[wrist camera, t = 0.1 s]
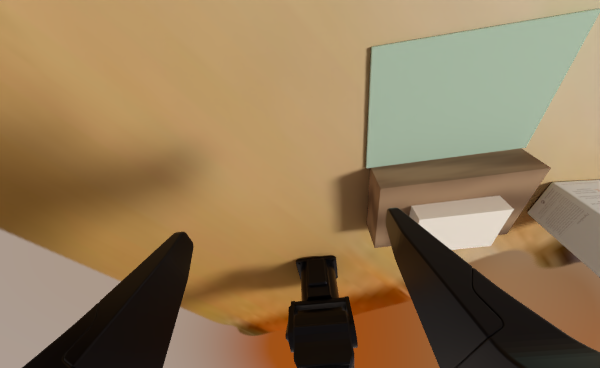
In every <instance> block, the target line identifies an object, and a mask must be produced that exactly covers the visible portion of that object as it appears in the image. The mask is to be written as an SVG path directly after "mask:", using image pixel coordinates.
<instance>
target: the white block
mask: <svg viewBox="0 0 600 368" xmlns="http://www.w3.org/2000/svg"><path fill="white" fill-rule="evenodd" d="M513 210H514V209H513V208H512V207H511V206H510V205H509V204H508V203H507V202H506V201H505V200H504V199H503V198H502V197H501V196H492V197H483V198H474V199H466V200H457V201H449V202H440V203H432V204H423V205H414V206H411V210H410V215H409V217H410V218H412V219H413V220H414V221H415V222H417V223H418V224H419V225H420V226H422V227H423V228H424V229H425V230H427V231H428V232H429V233H430V234H432V235H433V236H434V237H435V238H437V239H438V240H439V241H440V242H442V243H443V244H444V245H446V246H447V247H448V248H449V249H451V250H455V249H464V248H474V247H484V246H491V245H492V243H493V242H494V240H495V238H496V237H497V235H498V234H499V232H500V230H501V229H502V227H503V226H504V224H505V223H506V221H507V219H508V218H509V216H510V215H511V213H512V212H513Z"/></svg>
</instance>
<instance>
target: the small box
mask: <svg viewBox="0 0 600 368" xmlns="http://www.w3.org/2000/svg"><path fill="white" fill-rule="evenodd" d="M528 214H529V215H530V216H531V217H532V218H533V219H534V220H535V221H537V222H538V223H539V224H540V225H541V226H542V227H543V228H545V229H546V230H547V231H548V232H549V233H550V234H551V235H552V236H554V237H555V238H556V239H557V240H558V241H559V242H560V243H561V244H563V245H564V246H565V247H566V248H567V249H568V250H569V251H570V252H572V253H573V254H574V255H575V256H576V257H577V258H578V259H579V260H581V261H582V262H583V263H584V264H585V265H586V266H587V267H589V268H590V269H591V270H592V271H593V272H594V273H595V274H596V275H598V276H599V277H600V180H583V181H567V182H552V183H551V184H550V185H549V186H548V188H547V189H546V190H545V191H544V193H543V194H542V195H541V196H540V198H539V199H538V200H537V201H536V203H535V204H534V205H533V206H532V207H531V209H530V210H529V211H528Z"/></svg>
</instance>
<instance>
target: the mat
mask: <svg viewBox="0 0 600 368" xmlns="http://www.w3.org/2000/svg"><path fill="white" fill-rule="evenodd" d="M599 13H600V9H593V10H587V11H581V12H575V13H569V14H563V15H557V16H551V17H545V18H539V19H533V20H527V21H521V22H515V23H509V24H504V25H498V26H492V27H486V28H480V29H474V30H468V31H462V32H456V33H450V34H444V35H438V36H432V37H426V38H420V39H415V40H409V41H403V42H397V43H391V44H385V45H379V46H373V47H371V61H370V83H369V106H368V128H367V151H366V168H373V167H381V166H388V165H396V164H404V163H411V162H419V161H427V160H434V159H442V158H450V157H457V156H465V155H473V154H481V153H488V152H496V151H504V150H511V149H519V148H526V146H527V144H528V143H529V141H530V139H531V137H532V135H533V134H534V132H535V130H536V128H537V126H538V124H539V123H540V121H541V119H542V117H543V115H544V113H545V112H546V110H547V108H548V106H549V104H550V102H551V101H552V99H553V97H554V95H555V93H556V92H557V90H558V88H559V86H560V84H561V82H562V81H563V79H564V77H565V75H566V73H567V71H568V70H569V68H570V66H571V64H572V62H573V61H574V59H575V57H576V55H577V53H578V51H579V50H580V48H581V46H582V44H583V42H584V40H585V39H586V37H587V35H588V33H589V31H590V29H591V28H592V26H593V24H594V22H595V20H596V19H597V17H598V15H599Z"/></svg>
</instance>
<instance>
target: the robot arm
mask: <svg viewBox="0 0 600 368" xmlns="http://www.w3.org/2000/svg"><path fill="white" fill-rule="evenodd" d="M385 224H386V228H387V232H388V236H389V239H390V243H391V246H392V250H393V253H394V257H395V260H396V262H397V265H398V267H399V270H400V272H401V275H402V277H403V279H404V282H405V284H406V287H407V289H408V292H409V294H410V296H411V299H412V301H413V304H414V306H415V309H416V311H417V313H418V316H419V318H420V321H421V323H422V325H423V328H424V330H425V333H426V335H427V338H428V340H429V343H430V345H431V347H432V350H433V352H434V355H435V357H436V359H437V362H438V364H439V367H440V368H600V352H598V351H596V350H594V349H591V348H590V347H588V346H586V345H584V344H582V343H580V342H578V341H577V340H575V339H573V338H572V337H570V336H568V335H567V334H566V333H564V332H562V331H561V330H559V329H558V328H557V327H555V326H554V325H552V324H551V323H549V322H548V321H546V320H545V319H543V318H542V317H540V316H539V315H538V314H536V313H535V312H533V311H532V310H530V309H529V308H527V307H526V306H525V305H523V304H522V303H520V302H519V301H517V300H516V299H514V298H513V297H511V296H510V295H509V294H507V293H506V292H505V291H503V290H502V289H500V288H499V287H497V286H496V285H495V284H494V283H492V282H491V281H490V280H488V279H487V278H486V277H485V276H483V275H482V274H481V273H480V272H478V271H477V270H476V269H474V268H472V266H471V265H469V264H468V263H467V262H466V261H464V260H463V259H462V258H461V257H459V256H458V255H457V254H456V253H454V252H453V251H452V250H451V249H449V248H448V247H447V246H446V245H444V244H443V243H442V242H440V241H439V240H438V239H437V238H435V237H434V236H433V235H432V234H430V233H429V232H428V231H427V230H425V229H424V228H423V227H422V226H420V225H419V224H418V223H417V222H415V221H414V220H413V219H412V218H410V217H409V216H408V215H407V214H405V213H404V212H403V211H402V210H400V209H399V208H388V209H387V213H386V220H385ZM192 252H193V242H192V241H191V239H190V238H189V236H188V235H187V234H186V233H185V232H176V233H174V234H173V235H172V236H171V237H170V238H168V239H167V240H166V241H165V242H164V243H163V244H162V245H161V246H160V247H159V248H158V249H156V250H155V251H154V252H153V253H152V254H151V255H150V256H149V257H148V258H147V259H146V260H144V261H143V262H142V263H141V264H140V265H139V266H138V267H137V268H136V269H135V270H133V271H132V272H131V273H130V274H129V275H128V276H127V277H126V278H125V279H124V280H123V281H121V282H120V283H119V284H118V285H117V286H116V287H115V288H114V289H113V290H112V291H111V292H109V293H108V294H107V295H106V296H105V297H104V298H103V299H102V300H101V301H100V302H99V303H98V304H96V305H95V306H94V307H93V308H92V309H91V310H90V311H89V312H87V313H86V314H85V315H84V316H83V317H82V318H81V319H80V320H79V321H77V322H76V323H75V324H74V325H73V326H72V327H70V328H69V329H68V330H67V331H66V332H65V333H63V334H62V335H61V336H60V337H59V338H57V339H56V340H55V341H54V342H53V343H51V344H50V345H49V346H48V347H47V348H45V349H44V350H43V351H42V352H41V353H39V354H38V355H37V356H36V357H35V358H33V359H32V360H31V361H30V362H29V363H27V364H26V365H25V366H24V367H22V368H163V364H164V361H165V357H166V354H167V350H168V347H169V343H170V340H171V336H172V333H173V329H174V326H175V322H176V319H177V315H178V312H179V308H180V305H181V301H182V298H183V294H184V291H185V287H186V284H187V280H188V275H189V270H190V264H191V258H192ZM296 265H297V268H298V272H299V275H300V279H301V292H302V301H298V302H295V301H291V306H290V307H289V318H288V325H287V330H286V339H287V340H288V342H289V345H290V349H291V352H294V362H295V364H296V366H297V368H354V351H353V348H357V346H358V345H357V336H356V330H355V325H354V320H353V315H352V311H351V306H350V301H349V297H348V296H347V297H343V298H339V295H338V289H337V282H336V278H337V277H338V276H337V264H336V257H335V256H329V257H319V258H309V259H300V260H297V261H296Z"/></svg>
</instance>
